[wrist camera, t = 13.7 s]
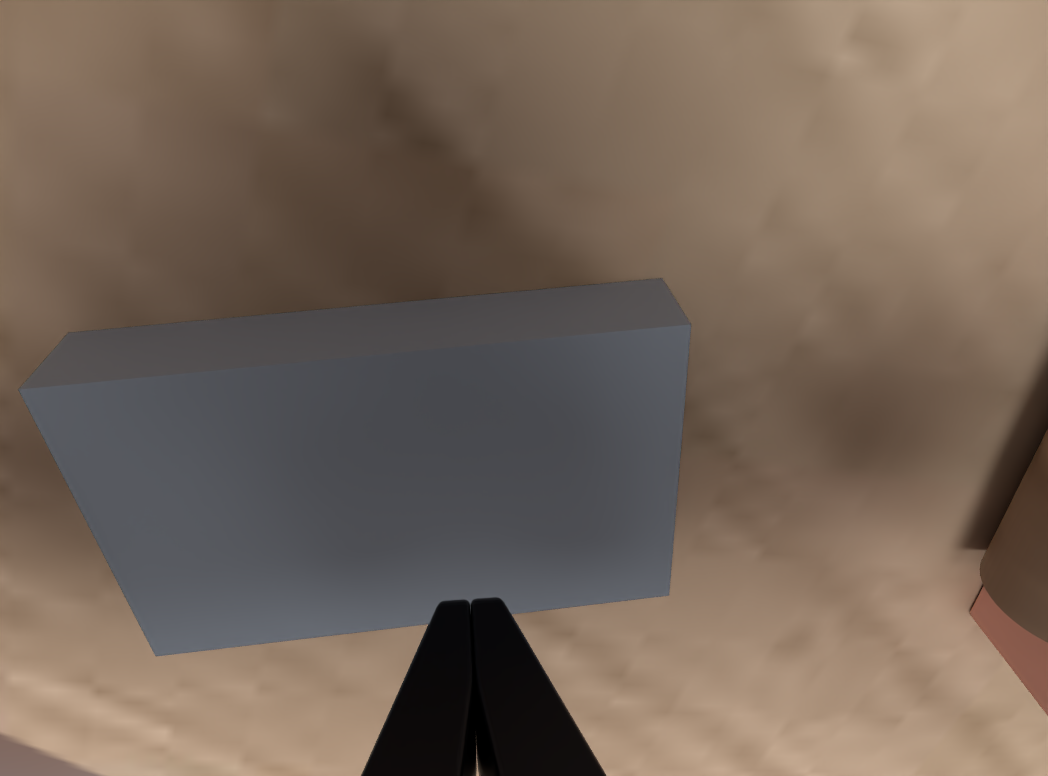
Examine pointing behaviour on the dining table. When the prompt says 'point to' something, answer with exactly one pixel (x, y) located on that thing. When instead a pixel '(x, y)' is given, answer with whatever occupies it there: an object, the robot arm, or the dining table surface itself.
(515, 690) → the robot arm
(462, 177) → the dining table surface
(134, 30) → the dining table surface
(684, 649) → the dining table surface
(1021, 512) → the roller
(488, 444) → the slab
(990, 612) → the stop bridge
